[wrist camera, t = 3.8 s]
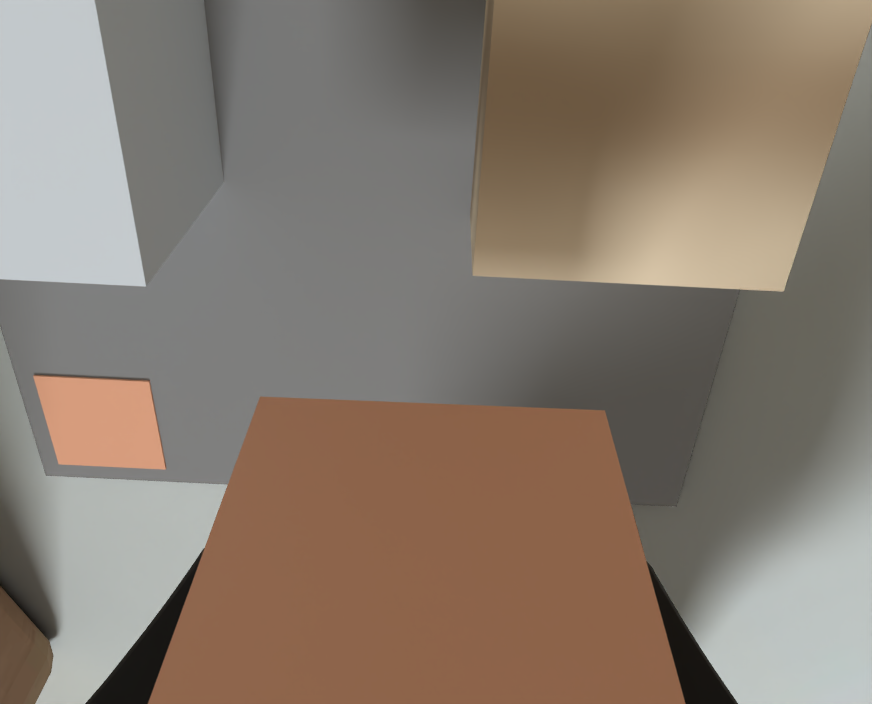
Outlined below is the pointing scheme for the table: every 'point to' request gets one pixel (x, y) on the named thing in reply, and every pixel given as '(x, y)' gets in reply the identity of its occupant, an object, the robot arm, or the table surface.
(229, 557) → the terracotta cube
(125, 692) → the robot arm
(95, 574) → the table surface
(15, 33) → the blue-grey cube
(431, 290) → the grey square mat
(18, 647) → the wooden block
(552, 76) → the maple block
